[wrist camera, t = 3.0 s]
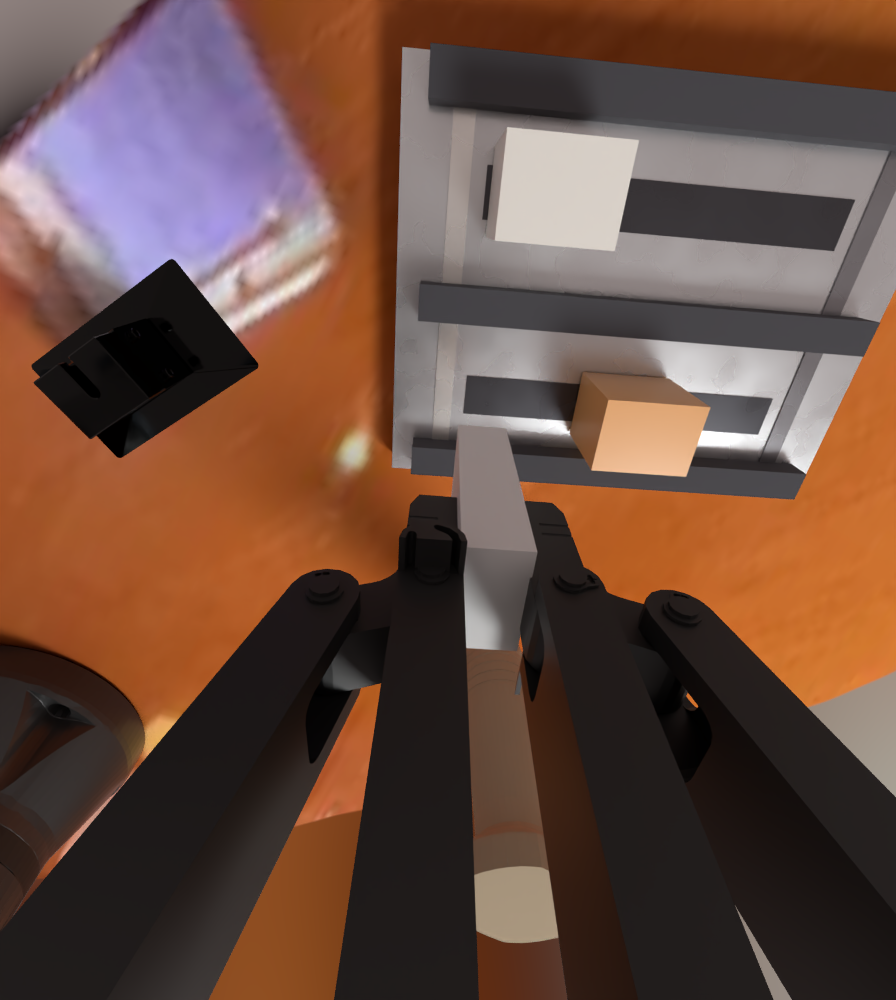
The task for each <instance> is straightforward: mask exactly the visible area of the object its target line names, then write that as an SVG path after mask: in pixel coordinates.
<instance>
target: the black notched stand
mask: <svg viewBox="0 0 896 1000" xmlns="http://www.w3.org/2000/svg"><path fill="white" fill-rule="evenodd" d="M257 368H258V363H257V362H256V360H255V359H254V358H253V357H252V355H251V354H250V353H249V352H248V350H247V349H246V348H245V347H244V345H243V344H242V343H241V342H240V341H239V339H238V338H237V337H236V336H235V334H234V333H233V332H232V331H231V329H230V328H229V327H228V326H227V324H226V323H225V322H224V321H223V319H222V318H221V317H220V316H219V314H218V313H217V312H216V311H215V310H214V308H213V307H212V306H211V305H210V303H209V302H208V301H207V300H206V298H205V297H204V296H203V295H202V293H201V292H200V291H199V290H198V288H197V287H196V286H195V285H194V284H193V282H192V281H191V280H190V279H189V277H188V276H187V275H186V274H185V272H184V271H183V270H182V269H181V267H180V266H179V265H178V264H177V262H176V261H175V260H173V259H170V260H168V261H167V262H166V263H164V264H163V265H162V266H160V267H159V268H158V269H156V270H155V271H154V272H152V273H151V274H150V275H149V276H147V277H146V278H145V279H143V280H142V281H141V282H139V283H138V284H137V285H135V286H134V287H133V288H131V289H130V290H129V291H128V292H126V293H125V294H124V295H122V296H121V297H120V298H118V299H117V300H116V301H114V302H113V303H112V304H111V305H109V306H108V307H107V308H105V309H104V310H103V311H101V312H100V313H99V314H97V315H96V316H95V317H94V318H92V319H91V320H90V321H88V322H87V323H86V324H84V325H83V326H82V327H80V328H79V329H78V330H76V331H75V332H74V333H73V334H71V335H70V336H69V337H67V338H66V339H65V340H63V341H62V342H61V343H59V344H58V345H57V346H56V347H54V348H53V349H52V350H50V351H49V352H48V353H46V354H45V355H44V356H42V357H41V358H40V359H38V360H37V361H36V362H35V363H33V364H32V369H33V370H34V371H35V372H36V373H37V374H38V375H39V376H40V378H39V379H37V380H36V381H35V382H34V384H35V385H36V386H37V387H38V388H39V389H40V390H41V391H42V392H43V393H44V394H45V395H46V396H47V397H48V398H49V399H50V400H51V401H52V402H53V403H54V404H55V405H56V406H57V407H58V408H59V409H60V410H61V411H62V412H63V413H64V414H65V415H66V416H67V417H68V418H69V419H70V420H71V421H72V422H73V423H74V424H75V425H76V426H77V427H78V428H79V429H80V430H81V431H82V432H83V433H84V434H85V435H86V436H87V437H88V438H89V439H92V438H94V437H95V436H97V437H98V438H99V439H100V440H101V441H102V442H103V443H104V444H105V445H106V446H107V447H108V448H109V449H110V450H111V451H112V452H113V453H114V454H115V455H116V456H117V457H118V458H122V457H123V456H125V455H126V454H128V453H129V452H131V451H132V450H134V449H136V448H137V447H139V446H140V445H142V444H143V443H145V442H146V441H148V440H149V439H151V438H152V437H154V436H155V435H157V434H158V433H160V432H161V431H163V430H164V429H166V428H167V427H169V426H170V425H172V424H174V423H175V422H177V421H178V420H180V419H181V418H183V417H184V416H186V415H187V414H189V413H190V412H192V411H193V410H195V409H196V408H198V407H199V406H201V405H202V404H204V403H205V402H207V401H208V400H210V399H212V398H213V397H215V396H216V395H218V394H219V393H221V392H222V391H224V390H225V389H227V388H228V387H230V386H231V385H233V384H234V383H236V382H237V381H239V380H240V379H242V378H243V377H245V376H246V375H248V374H250V373H251V372H253V371H254V370H256V369H257Z"/></svg>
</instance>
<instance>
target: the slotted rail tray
mask: <svg viewBox="0 0 896 1000" xmlns="http://www.w3.org/2000/svg"><path fill="white" fill-rule="evenodd" d="M428 101H429V105H434V106H444V107H458V108H468V109H476V110H484V111H494V112H504V113H514V114H524V115H534V116H544V117H554V118H564V119H573V120H583V121H593V122H603V123H613V124H623V125H633V126H643V127H653V128H663V129H673V130H683V131H693V132H703V133H713V134H723V135H733V136H743V137H753V138H763V139H773V140H783V141H793V142H803V143H813V144H823V145H833V146H843V147H853V148H863V149H873V150H883V151H896V92H891V91H881V90H872V89H862V88H853V87H843V86H834V85H824V84H815V83H806V82H796V81H787V80H777V79H768V78H758V77H749V76H739V75H730V74H721V73H711V72H702V71H692V70H683V69H673V68H664V67H654V66H645V65H636V64H626V63H617V62H607V61H598V60H588V59H579V58H570V57H560V56H551V55H541V54H532V53H522V52H513V51H503V50H494V49H485V48H475V47H466V46H456V45H447V44H437V43H431V44H430V66H429V88H428ZM418 321H424V322H436V323H449V324H461V325H474V326H486V327H498V328H511V329H523V330H536V331H548V332H561V333H573V334H586V335H598V336H610V337H623V338H635V339H648V340H660V341H673V342H685V343H698V344H710V345H723V346H735V347H747V348H760V349H772V350H785V351H797V352H810V353H822V354H835V355H847V356H859V357H864V355H865V353H866V351H867V349H868V346H869V344H870V342H871V340H872V338H873V336H874V334H875V332H876V330H877V328H878V326H879V324H880V322H876V321H871V320H867V319H863V318H858V317H846V316H832V315H821V314H810V313H798V312H787V311H775V310H763V309H751V308H739V307H727V306H715V305H703V304H691V303H679V302H668V301H656V300H644V299H632V298H620V297H608V296H596V295H584V294H572V293H560V292H549V291H537V290H525V289H513V288H501V287H489V286H477V285H465V284H451V283H441V282H430V281H420V284H419V306H418ZM456 442H457V440H437V439H431V438H416V437H413V444H412V459H411V474H417V475H432V476H447V477H453V474H454V463H455V453H456ZM510 446H511V450H512V454H513V458H514V462H515V466H516V470H517V474H518V478H519V481H523V482H538V483H553V484H568V485H583V486H598V487H613V488H628V489H643V490H658V491H673V492H688V493H703V494H719V495H734V496H749V497H764V498H779V499H795V497H796V495H797V493H798V491H799V489H800V486H801V484H802V482H803V480H804V478H805V476H806V474H805V473H804V472H802V471H801V470H800V469H798V468H797V467H795V466H794V465H792V464H789V463H767V462H759V461H746V460H732V459H718V458H703V457H693V459H692V461H691V464H690V467H689V470H688V473H687V476H686V477H682V476H667V475H652V474H638V473H623V472H608V471H593V470H591V469H590V467H589V466H588V464H587V462H586V461H585V459H584V457H583V456H582V454H581V452H580V451H579V449H574V448H560V447H545V446H531V445H517V444H510Z"/></svg>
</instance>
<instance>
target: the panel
mask: <svg viewBox="0 0 896 1000" xmlns="http://www.w3.org/2000/svg"><path fill="white" fill-rule="evenodd" d="M429 66H430V50H427V49H418V48H408V47H402V83H401V124H400V164H399V205H398V246H397V286H396V327H395V367H394V408H393V448H392V467H393V468H408V469H411V459H412V444H413V437H416V438H431V439H437V440H457V431H458V425H469V426H482V427H495V428H506V431H507V435H508V438H509V442H510V444H517V445H531V446H545V447H560V448H574V449H578V447H577V445H576V444H575V442H574V440H573V439H572V437H571V435H570V430H571V425H572V420H573V416H574V411H575V406H576V402H577V397H578V392H579V387H580V383H581V378H582V373H583V372H590V373H603V374H616V375H629V376H642V377H655V378H668V379H671V380H672V381H673V382H675V383H676V384H678V385H679V386H681V387H682V388H684V389H685V390H686V391H688V392H689V393H691V394H692V395H694V396H695V397H696V398H698V399H699V400H701V401H702V402H704V403H705V404H707V405H708V406H709V407H711V408H710V410H709V413H708V416H707V419H706V422H705V425H704V427H703V430H702V433H701V436H700V439H699V442H698V444H697V447H696V450H695V453H694V456H693V457H703V458H718V459H732V460H746V461H759V462H767V463H789V464H792V465H794V466H795V467H797V468H798V469H800V470H801V471H802V472H804V473H805V474H806V473H807V471H808V469H809V467H810V465H811V462H812V460H813V458H814V456H815V454H816V452H817V450H818V448H819V446H820V444H821V442H822V440H823V438H824V436H825V434H826V432H827V429H828V427H829V425H830V423H831V421H832V419H833V417H834V415H835V413H836V411H837V409H838V407H839V405H840V403H841V401H842V399H843V396H844V394H845V392H846V390H847V388H848V386H849V384H850V382H851V380H852V378H853V376H854V374H855V372H856V370H857V368H858V366H859V363H860V361H861V359H862V357H859V356H847V355H835V354H822V353H810V352H797V351H785V350H772V349H760V348H747V347H735V346H723V345H710V344H698V343H685V342H673V341H660V340H648V339H635V338H623V337H610V336H598V335H586V334H573V333H561V332H548V331H536V330H523V329H511V328H498V327H486V326H474V325H461V324H449V323H436V322H424V321H418V306H419V284H420V281H430V282H441V283H451V284H465V285H477V286H489V287H501V288H513V289H525V290H537V291H549V292H560V293H572V294H584V295H596V296H608V297H620V298H632V299H644V300H656V301H668V302H679V303H691V304H703V305H715V306H727V307H739V308H751V309H763V310H775V311H787V312H798V313H810V314H821V315H832V316H846V317H858V318H863V319H867V320H871V321H876V322H880V320H881V318H882V316H883V314H884V312H885V310H886V308H887V306H888V304H889V302H890V300H891V297H892V295H893V293H894V291H895V289H896V151H883V150H873V149H863V148H853V147H843V146H833V145H823V144H813V143H803V142H793V141H783V140H773V139H763V138H753V137H743V136H733V135H723V134H713V133H703V132H693V131H683V130H673V129H663V128H653V127H643V126H633V125H623V124H613V123H603V122H593V121H583V120H573V119H564V118H554V117H544V116H534V115H524V114H514V113H504V112H494V111H484V110H476V109H468V108H458V107H444V106H434V105H429V101H428V88H429ZM507 127H512V128H522V129H532V130H542V131H552V132H562V133H572V134H582V135H592V136H603V137H613V138H623V139H633V140H639V143H638V147H637V152H636V156H635V161H634V166H633V170H632V175H631V179H630V184H629V188H628V193H627V198H626V202H625V207H624V211H623V216H622V221H621V225H620V230H619V234H618V239H617V243H616V248H615V251H606V250H595V249H583V248H572V247H561V246H549V245H538V244H527V243H515V242H504V241H494V240H492V239H489V238H486V229H487V220H488V210H489V200H490V190H491V180H492V171H493V161H494V151H495V145H496V143H497V142H498V140H499V139H500V137H501V136H502V134H503V133H504V131H505V130H506V128H507Z"/></svg>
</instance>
